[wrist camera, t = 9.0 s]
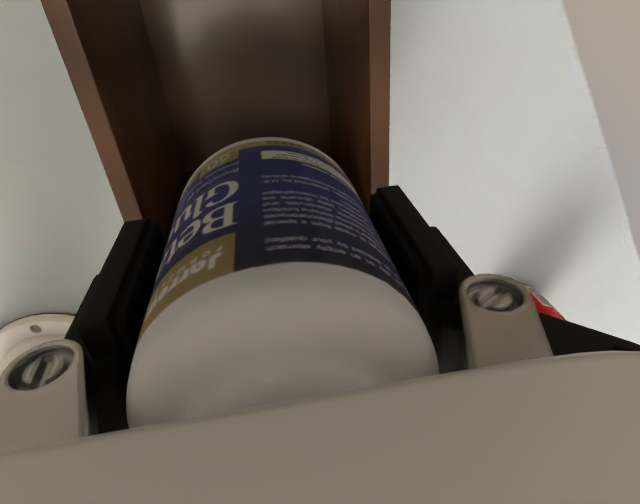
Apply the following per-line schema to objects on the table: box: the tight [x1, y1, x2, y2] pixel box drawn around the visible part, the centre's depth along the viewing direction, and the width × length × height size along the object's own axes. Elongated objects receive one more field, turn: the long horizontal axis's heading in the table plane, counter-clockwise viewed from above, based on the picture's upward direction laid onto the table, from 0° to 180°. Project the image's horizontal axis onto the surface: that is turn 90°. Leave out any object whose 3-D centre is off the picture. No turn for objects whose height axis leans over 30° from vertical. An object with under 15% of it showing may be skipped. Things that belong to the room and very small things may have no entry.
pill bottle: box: [126, 137, 439, 429], centre depth 9 cm, size 5×5×10 cm
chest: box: [41, 0, 391, 244], centre depth 23 cm, size 17×13×13 cm
